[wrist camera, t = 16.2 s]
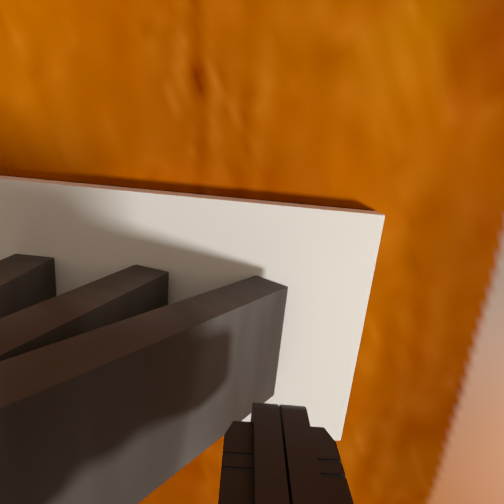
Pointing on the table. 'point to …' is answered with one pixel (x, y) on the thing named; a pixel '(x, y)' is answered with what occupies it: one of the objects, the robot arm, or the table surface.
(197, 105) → the table surface
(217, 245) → the board
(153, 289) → the tile
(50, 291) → the tile
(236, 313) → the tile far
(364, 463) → the table surface
